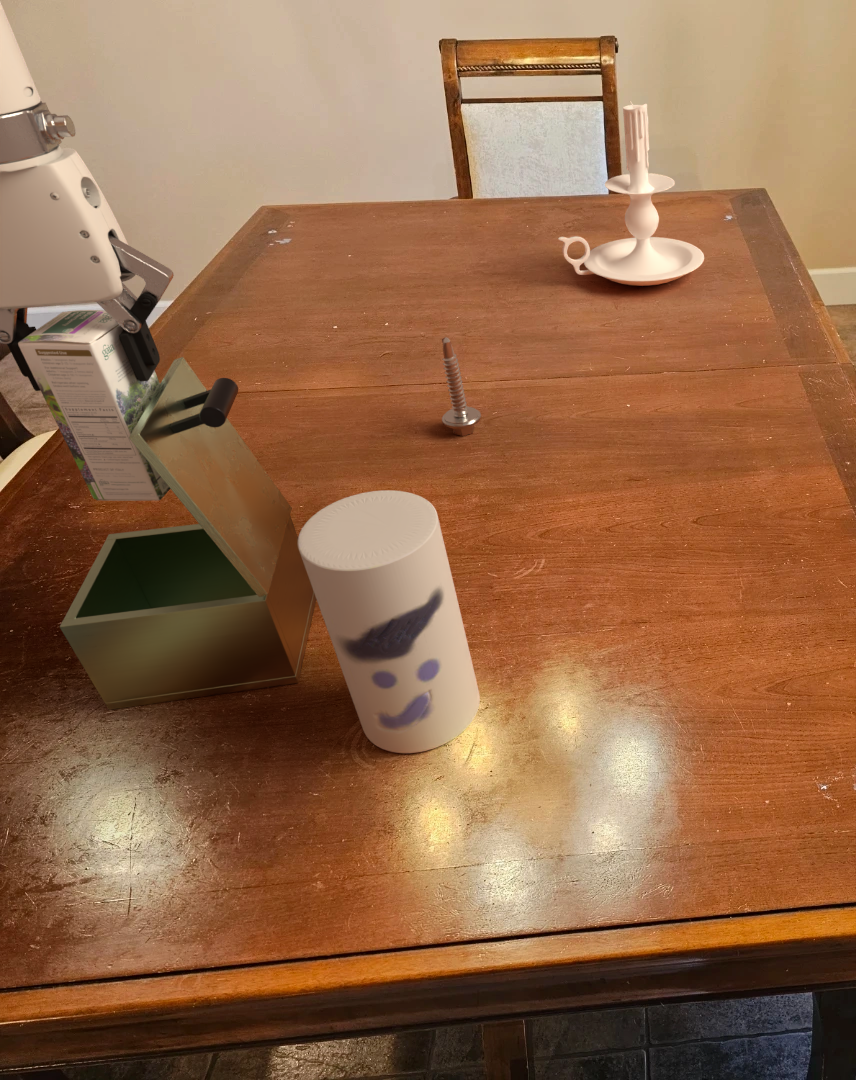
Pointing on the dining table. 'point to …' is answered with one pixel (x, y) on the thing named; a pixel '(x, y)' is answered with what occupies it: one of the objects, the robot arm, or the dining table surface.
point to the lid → (214, 471)
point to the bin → (186, 619)
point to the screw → (457, 396)
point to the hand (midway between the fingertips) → (97, 376)
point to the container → (393, 617)
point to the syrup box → (95, 402)
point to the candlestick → (638, 222)
